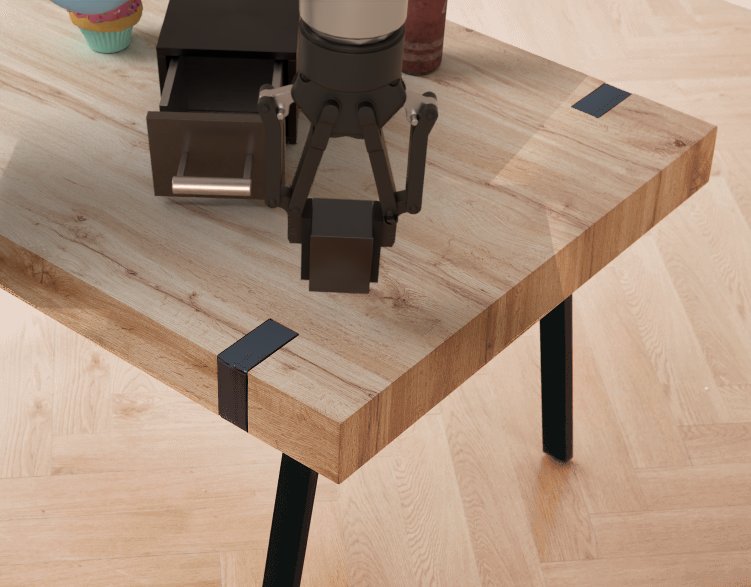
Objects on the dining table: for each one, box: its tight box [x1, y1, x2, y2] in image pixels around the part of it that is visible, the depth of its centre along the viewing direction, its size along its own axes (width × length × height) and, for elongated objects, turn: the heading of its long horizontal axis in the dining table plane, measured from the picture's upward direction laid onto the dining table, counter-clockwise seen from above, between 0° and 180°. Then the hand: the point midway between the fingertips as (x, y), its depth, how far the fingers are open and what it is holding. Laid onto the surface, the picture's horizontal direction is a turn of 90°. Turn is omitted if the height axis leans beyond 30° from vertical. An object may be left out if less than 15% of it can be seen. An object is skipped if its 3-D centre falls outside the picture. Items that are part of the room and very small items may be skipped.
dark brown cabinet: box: [155, 0, 302, 145], centre depth 115 cm, size 16×14×11 cm
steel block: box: [308, 197, 374, 295], centre depth 89 cm, size 5×5×6 cm
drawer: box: [145, 56, 287, 201], centre depth 104 cm, size 20×13×9 cm, turn 1°
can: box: [402, 0, 448, 76], centre depth 122 cm, size 6×6×14 cm
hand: (339, 270), depth 91 cm, fingers closed on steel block, 5 cm apart
